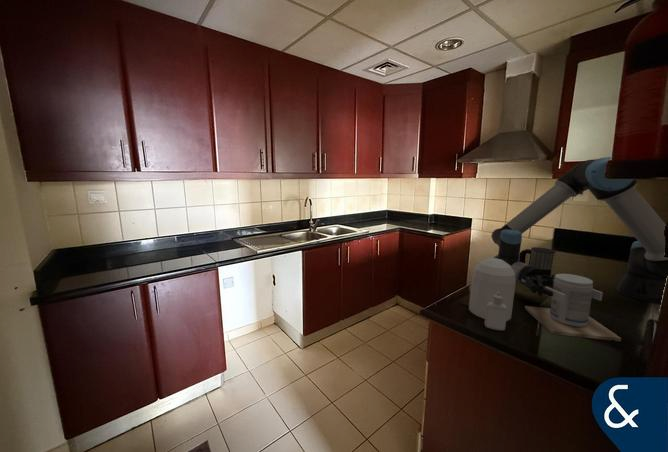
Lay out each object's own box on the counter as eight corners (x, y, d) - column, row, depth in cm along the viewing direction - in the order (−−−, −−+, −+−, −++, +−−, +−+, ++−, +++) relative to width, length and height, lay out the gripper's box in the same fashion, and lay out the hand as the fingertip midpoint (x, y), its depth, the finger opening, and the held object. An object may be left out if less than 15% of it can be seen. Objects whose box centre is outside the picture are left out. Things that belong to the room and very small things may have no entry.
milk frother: (551, 279, 129) (556, 249, 127) (548, 288, 118) (553, 256, 115) (516, 272, 139) (520, 244, 136) (511, 280, 127) (514, 250, 125)
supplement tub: (591, 322, 87) (598, 279, 85) (581, 331, 82) (589, 286, 80) (554, 310, 95) (560, 271, 93) (544, 317, 90) (550, 276, 88)
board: (581, 313, 95) (581, 311, 95) (620, 341, 79) (621, 338, 79) (524, 308, 99) (525, 305, 99) (551, 333, 83) (551, 330, 82)
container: (516, 324, 88) (524, 266, 84) (470, 317, 92) (476, 261, 89) (505, 307, 100) (512, 255, 97) (466, 301, 105) (471, 251, 101)
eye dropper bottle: (501, 333, 82) (506, 297, 80) (482, 326, 87) (486, 291, 85) (506, 328, 85) (511, 293, 83) (487, 321, 89) (491, 287, 87)
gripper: (552, 282, 107) (614, 306, 86) (496, 284, 104) (546, 311, 83) (555, 264, 106) (618, 284, 85) (498, 266, 102) (549, 288, 82)
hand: (583, 297), depth 84 cm, fingers open, 13 cm apart
